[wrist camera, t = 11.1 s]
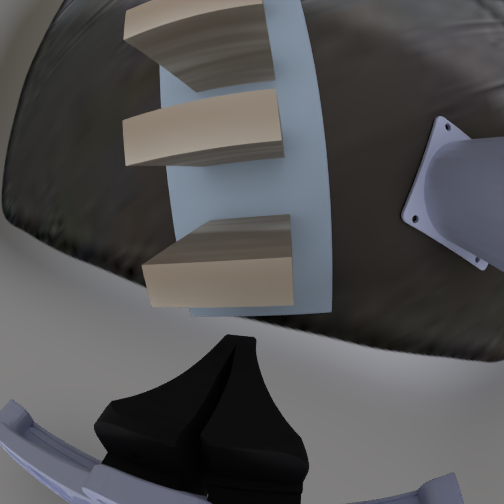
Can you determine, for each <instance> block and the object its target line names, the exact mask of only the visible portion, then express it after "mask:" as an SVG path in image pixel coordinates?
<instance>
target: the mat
mask: <svg viewBox="0 0 504 504" xmlns="http://www.w3.org/2000/svg"><path fill="white" fill-rule="evenodd" d="M263 3H264V9H265V14H266V23H267V28H268V34H269V40H270V45H271V52H272V58H273V64H274V71H275V79H276V81H267V82H258V83H249V84H242V85H235V86H229V87H223V88H217V89H212V90H207V91H202V92H197V93H196V92H195V91H194V90H192V89H191V88H190V87H189V86H187V85H186V84H185V83H183V82H182V81H181V80H179V79H178V78H177V77H176V76H174V75H173V74H172V73H170V72H169V71H168V70H166V69H165V68H163V67H162V66H161V65H160V91H161V109H162V108H166V107H170V106H174V105H178V104H182V103H187V102H191V101H196V100H200V99H205V98H211V97H216V96H222V95H228V94H234V93H241V92H248V91H256V90H265V89H276V94H277V101H278V107H279V114H280V121H281V128H282V136H283V145H284V155H285V158H276V159H265V160H255V161H245V162H236V163H228V164H220V165H213V166H206V167H192V166H166V169H167V178H168V186H169V194H170V202H171V209H172V216H173V223H174V229H175V236H176V242H177V241H178V240H180V239H181V238H183V237H184V236H186V235H187V234H189V233H191V232H192V231H194V230H195V229H197V228H198V227H200V226H201V225H203V224H205V223H206V222H208V221H209V220H219V219H231V218H242V217H255V216H268V215H282V214H290V224H291V238H292V259H293V287H294V305H289V306H265V307H224V308H189V310H190V314H191V316H268V315H292V314H310V313H326V312H332V231H331V207H330V191H329V177H328V165H327V154H326V144H325V135H324V126H323V118H322V111H321V103H320V97H319V90H318V84H317V78H316V72H315V66H314V61H313V55H312V50H311V45H310V41H309V36H308V31H307V27H306V22H305V18H304V14H303V10H302V6H301V2H300V0H263Z"/></svg>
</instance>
